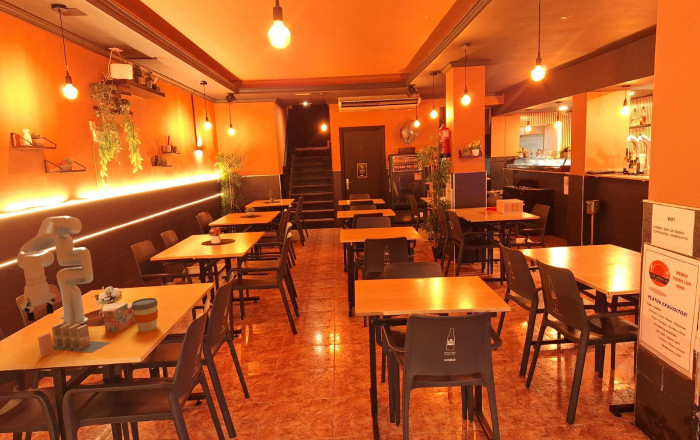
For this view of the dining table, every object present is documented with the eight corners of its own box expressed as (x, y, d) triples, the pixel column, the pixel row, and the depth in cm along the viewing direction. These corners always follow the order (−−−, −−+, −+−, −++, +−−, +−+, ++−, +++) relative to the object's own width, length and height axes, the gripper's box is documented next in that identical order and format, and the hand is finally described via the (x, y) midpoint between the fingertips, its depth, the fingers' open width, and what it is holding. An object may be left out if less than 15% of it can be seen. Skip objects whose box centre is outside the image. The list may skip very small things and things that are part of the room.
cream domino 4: (79, 348, 223) (76, 328, 221) (87, 344, 227) (85, 324, 226) (82, 348, 222) (79, 328, 221) (90, 344, 227) (87, 324, 225)
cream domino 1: (54, 346, 227) (51, 326, 225) (63, 342, 231) (60, 323, 230) (57, 346, 226) (54, 327, 225) (66, 342, 231) (63, 323, 230)
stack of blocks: (129, 318, 263) (127, 297, 262) (139, 318, 263) (137, 297, 261) (105, 333, 242) (102, 310, 241) (116, 333, 242) (113, 310, 240)
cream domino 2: (62, 346, 225) (60, 327, 224) (71, 342, 230) (68, 323, 229) (65, 347, 225) (62, 327, 223) (74, 343, 230) (71, 323, 228)
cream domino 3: (71, 347, 224) (68, 327, 222) (79, 343, 229) (76, 324, 227) (73, 347, 223) (70, 328, 222) (82, 343, 228) (79, 324, 227)
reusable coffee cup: (150, 323, 254) (147, 296, 252) (165, 326, 248) (162, 299, 246) (129, 331, 243) (126, 303, 241) (144, 334, 237) (141, 306, 235)
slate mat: (45, 349, 224) (44, 349, 224) (66, 340, 235) (66, 339, 235) (91, 353, 216) (91, 352, 216) (111, 343, 228) (111, 342, 228)
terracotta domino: (41, 357, 215) (37, 336, 214) (50, 352, 220) (47, 332, 218) (43, 357, 215) (40, 337, 213) (53, 353, 219) (50, 332, 218)
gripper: (46, 276, 221) (51, 310, 224) (11, 286, 205) (17, 323, 207) (58, 276, 219) (63, 311, 222) (24, 286, 203) (30, 323, 205)
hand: (41, 316), depth 214 cm, fingers open, 9 cm apart
